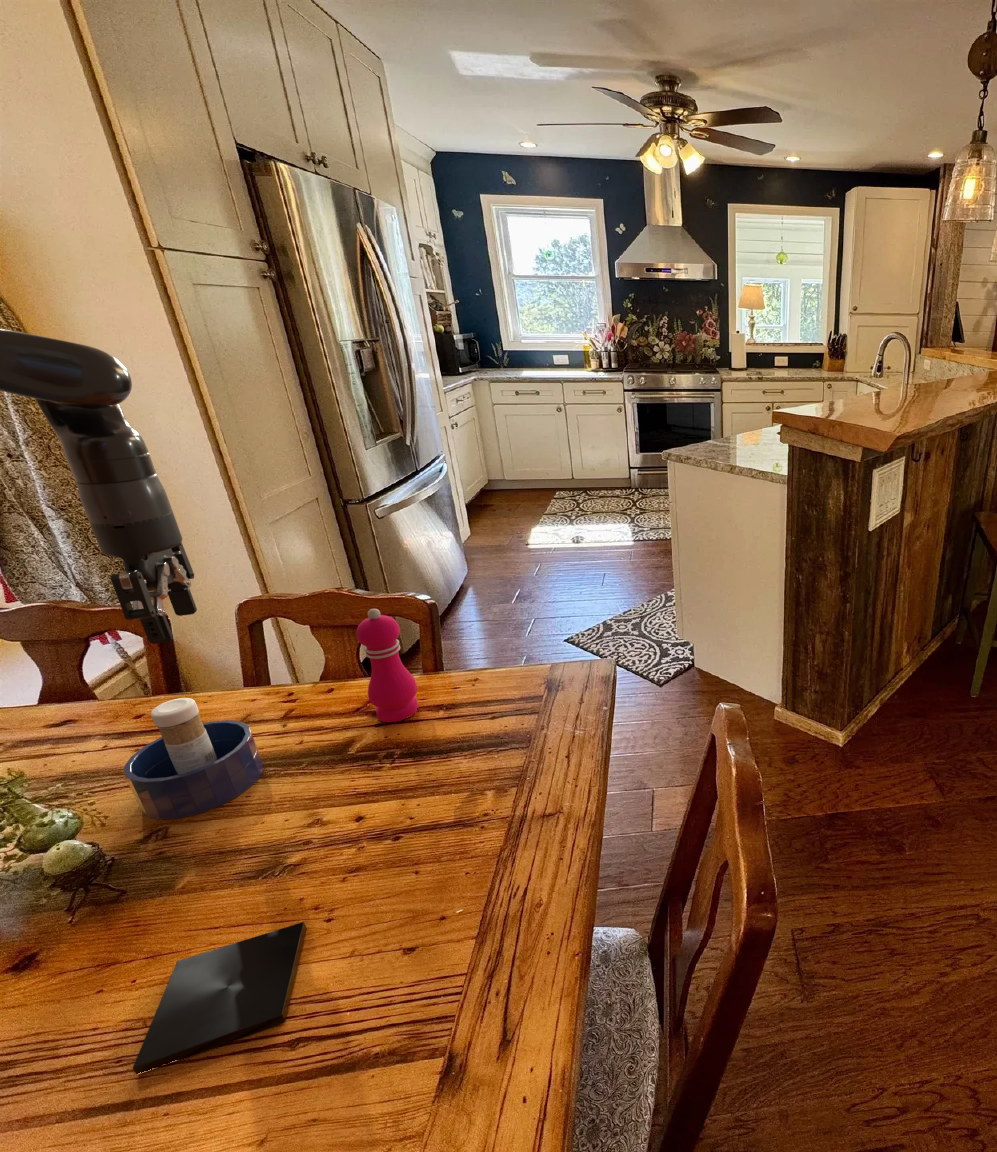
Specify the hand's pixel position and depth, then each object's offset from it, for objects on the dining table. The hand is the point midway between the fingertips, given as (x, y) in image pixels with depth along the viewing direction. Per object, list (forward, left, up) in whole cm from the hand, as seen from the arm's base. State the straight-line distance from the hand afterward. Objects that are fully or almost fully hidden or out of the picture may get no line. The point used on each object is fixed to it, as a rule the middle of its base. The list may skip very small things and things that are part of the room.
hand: (175, 627), depth 83 cm
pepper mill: (+22, +6, -24) cm, 33 cm away
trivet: (+10, -41, -24) cm, 49 cm away
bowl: (-2, -3, -24) cm, 24 cm away
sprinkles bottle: (-2, -3, -24) cm, 24 cm away
